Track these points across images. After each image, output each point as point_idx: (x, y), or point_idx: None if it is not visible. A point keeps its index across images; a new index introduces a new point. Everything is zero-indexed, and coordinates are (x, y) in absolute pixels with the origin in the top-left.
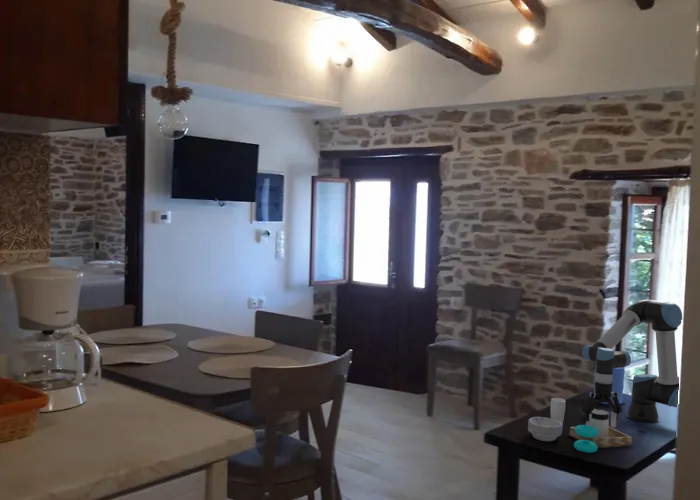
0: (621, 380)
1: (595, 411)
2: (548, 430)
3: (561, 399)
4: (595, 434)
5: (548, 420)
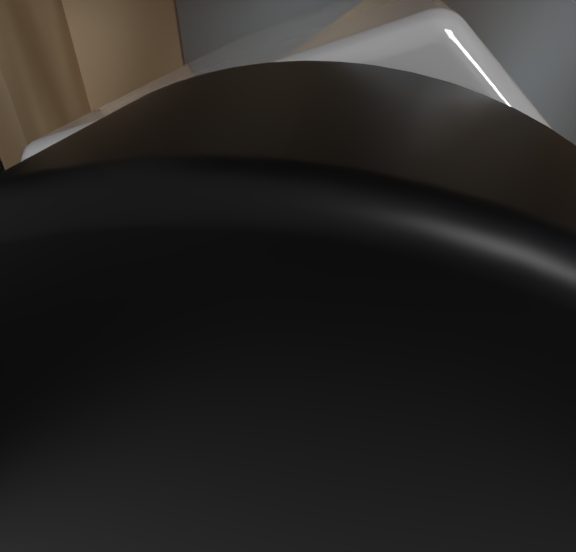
0: None
1: (128, 523)
2: None
3: None
4: None
5: None
